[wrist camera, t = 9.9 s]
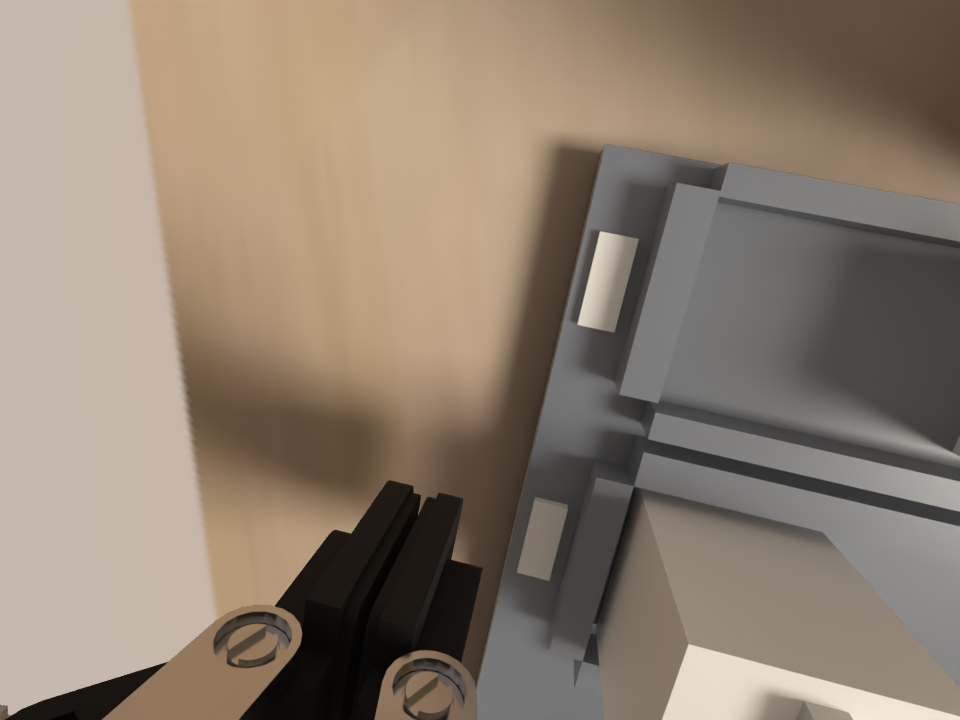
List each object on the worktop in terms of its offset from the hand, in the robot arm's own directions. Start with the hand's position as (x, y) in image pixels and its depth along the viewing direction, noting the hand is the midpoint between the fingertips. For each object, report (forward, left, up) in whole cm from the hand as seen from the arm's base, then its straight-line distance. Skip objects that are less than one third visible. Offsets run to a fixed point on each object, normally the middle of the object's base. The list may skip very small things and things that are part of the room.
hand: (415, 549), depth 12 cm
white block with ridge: (0, -7, -2) cm, 7 cm away
